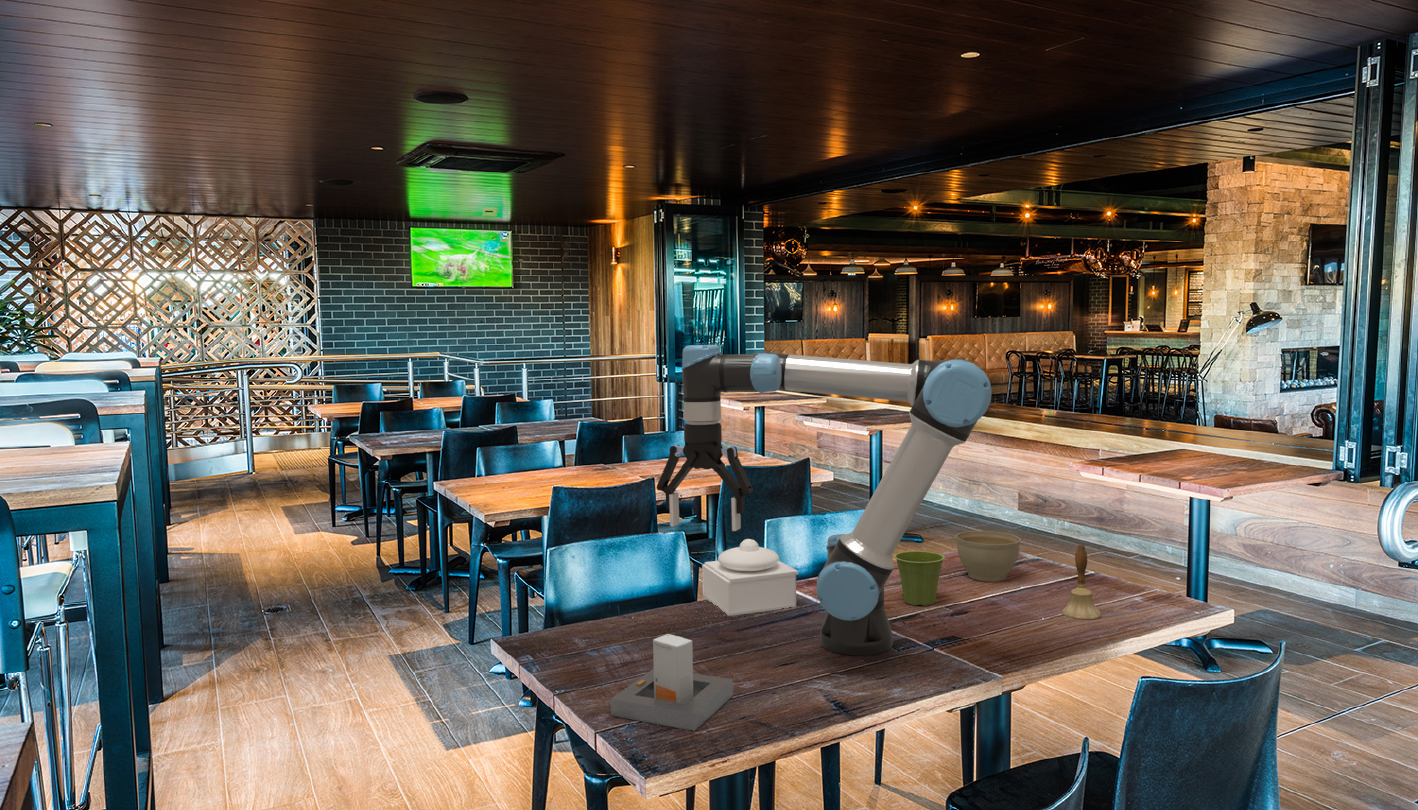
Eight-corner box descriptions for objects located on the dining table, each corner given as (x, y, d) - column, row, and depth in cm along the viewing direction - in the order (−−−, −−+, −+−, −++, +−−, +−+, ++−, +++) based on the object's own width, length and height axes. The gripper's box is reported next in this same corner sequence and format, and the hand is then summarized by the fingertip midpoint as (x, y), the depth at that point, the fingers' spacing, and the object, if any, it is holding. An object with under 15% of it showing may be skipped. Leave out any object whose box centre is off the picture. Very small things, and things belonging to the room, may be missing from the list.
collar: (733, 695, 165) (732, 677, 165) (694, 731, 151) (694, 711, 151) (655, 682, 172) (654, 665, 172) (611, 715, 158) (610, 697, 157)
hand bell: (1061, 617, 206) (1062, 548, 205) (1062, 607, 213) (1063, 540, 212) (1101, 621, 203) (1102, 550, 201) (1100, 610, 210) (1101, 542, 209)
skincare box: (653, 704, 162) (651, 639, 161) (669, 697, 165) (668, 632, 164) (678, 713, 158) (676, 646, 157) (694, 705, 161) (693, 639, 160)
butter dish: (702, 597, 228) (701, 534, 227) (768, 588, 234) (767, 527, 233) (728, 617, 212) (727, 549, 210) (798, 607, 218) (797, 541, 217)
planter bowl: (1010, 589, 229) (1011, 546, 228) (947, 580, 238) (947, 539, 237) (1027, 574, 242) (1027, 534, 241) (966, 567, 251) (966, 528, 250)
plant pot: (951, 599, 221) (951, 553, 221) (935, 612, 211) (935, 564, 211) (904, 592, 228) (904, 548, 227) (886, 604, 218) (886, 558, 217)
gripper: (767, 421, 180) (769, 527, 182) (655, 419, 190) (658, 519, 192) (754, 425, 173) (756, 535, 175) (638, 423, 184) (641, 527, 185)
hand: (705, 527), depth 184 cm, fingers open, 13 cm apart
